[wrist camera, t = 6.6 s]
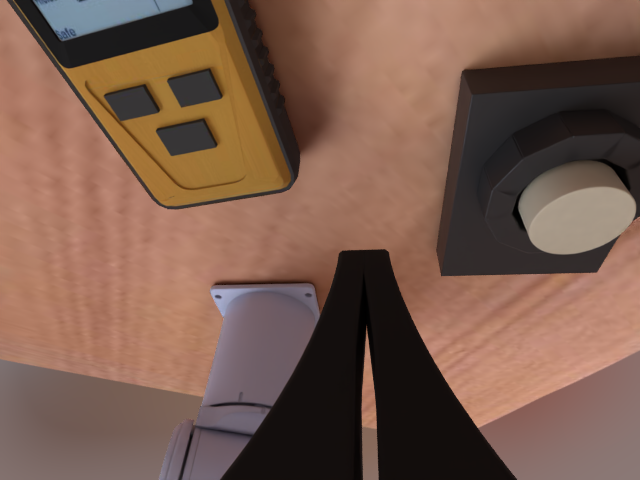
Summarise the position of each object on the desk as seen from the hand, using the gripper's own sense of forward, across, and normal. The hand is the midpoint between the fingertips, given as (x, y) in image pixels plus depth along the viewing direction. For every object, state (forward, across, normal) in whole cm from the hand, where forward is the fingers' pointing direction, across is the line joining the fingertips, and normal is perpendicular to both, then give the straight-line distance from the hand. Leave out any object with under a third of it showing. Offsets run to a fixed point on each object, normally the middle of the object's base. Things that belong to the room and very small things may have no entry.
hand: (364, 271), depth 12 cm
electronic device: (+11, +8, -4) cm, 14 cm away
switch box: (+10, -9, +5) cm, 15 cm away
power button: (+7, -9, +3) cm, 12 cm away
